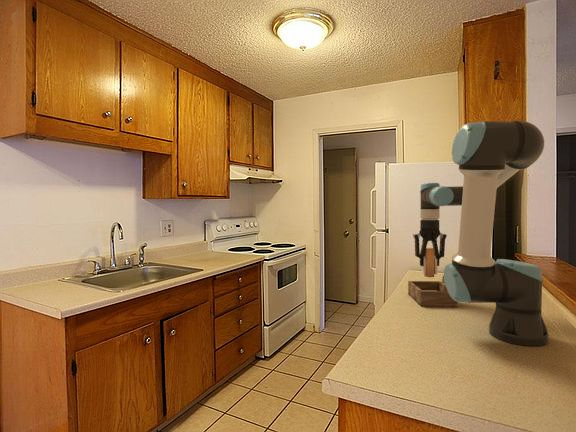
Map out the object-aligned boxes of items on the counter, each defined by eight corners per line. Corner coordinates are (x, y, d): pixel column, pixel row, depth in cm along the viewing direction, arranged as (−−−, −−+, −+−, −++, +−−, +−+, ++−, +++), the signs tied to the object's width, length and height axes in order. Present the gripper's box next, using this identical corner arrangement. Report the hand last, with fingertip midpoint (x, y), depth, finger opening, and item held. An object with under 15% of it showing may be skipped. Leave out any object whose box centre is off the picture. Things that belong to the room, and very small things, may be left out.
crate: (457, 306, 133) (457, 291, 133) (420, 306, 134) (420, 291, 134) (440, 294, 151) (440, 281, 151) (408, 294, 152) (408, 281, 152)
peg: (435, 277, 142) (436, 249, 142) (426, 277, 143) (426, 249, 142) (432, 275, 146) (432, 247, 146) (423, 275, 147) (423, 247, 146)
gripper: (446, 218, 146) (446, 271, 147) (406, 218, 148) (406, 271, 149) (454, 219, 139) (453, 275, 140) (411, 219, 140) (411, 275, 141)
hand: (429, 273), depth 144 cm, fingers closed on peg, 4 cm apart
